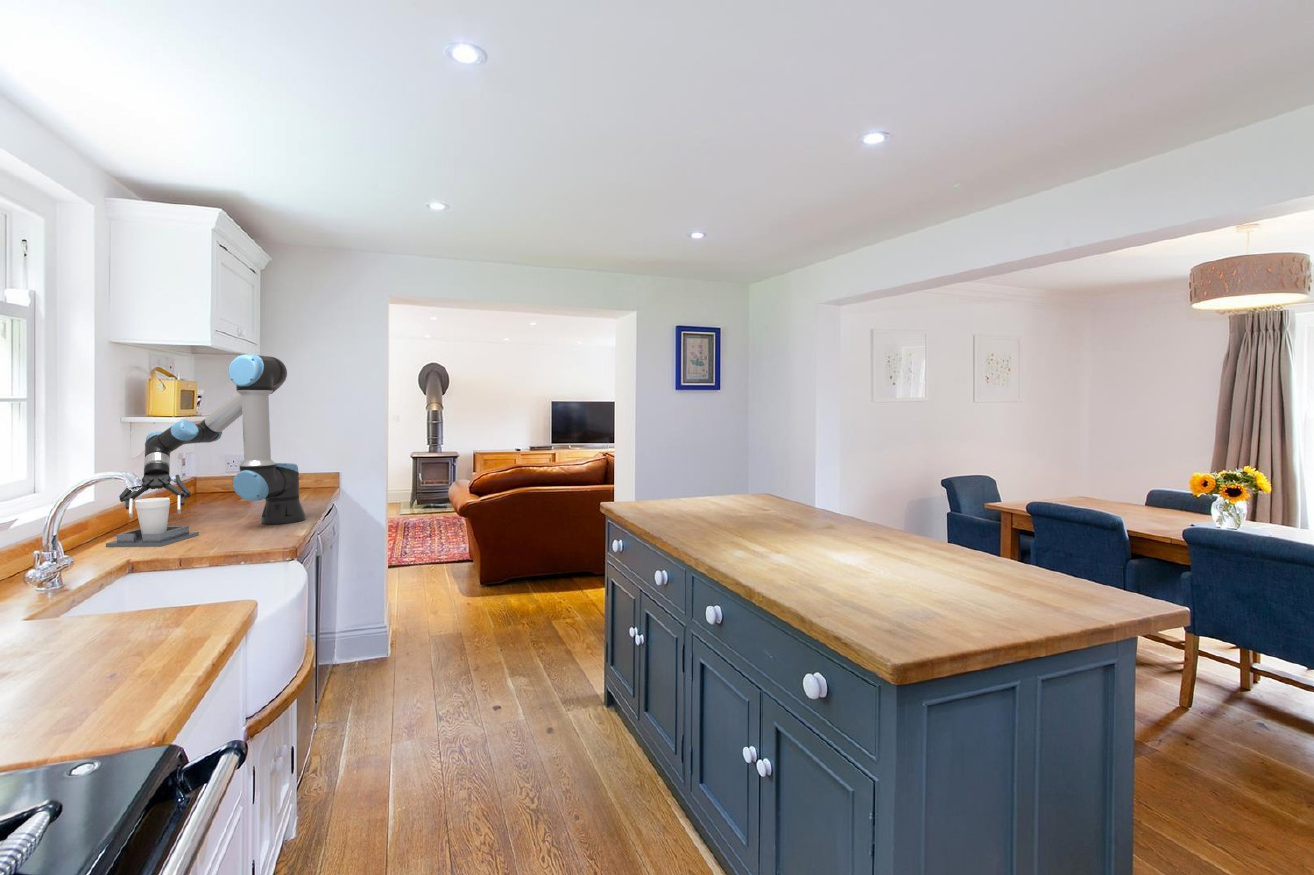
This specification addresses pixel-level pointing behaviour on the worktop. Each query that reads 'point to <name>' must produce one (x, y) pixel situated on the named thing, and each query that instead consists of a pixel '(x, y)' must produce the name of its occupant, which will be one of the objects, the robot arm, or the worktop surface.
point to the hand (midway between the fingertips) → (155, 513)
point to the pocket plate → (152, 537)
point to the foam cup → (153, 514)
